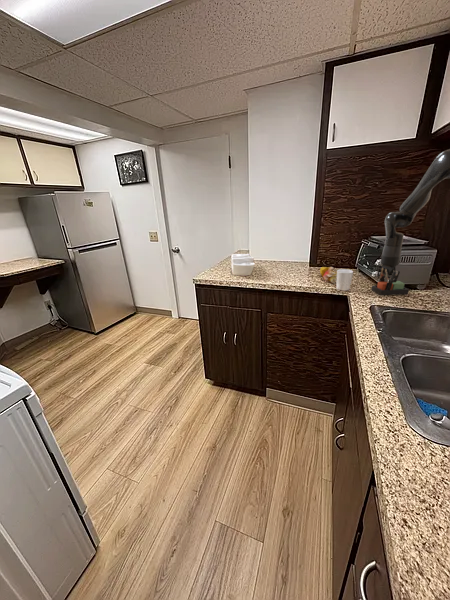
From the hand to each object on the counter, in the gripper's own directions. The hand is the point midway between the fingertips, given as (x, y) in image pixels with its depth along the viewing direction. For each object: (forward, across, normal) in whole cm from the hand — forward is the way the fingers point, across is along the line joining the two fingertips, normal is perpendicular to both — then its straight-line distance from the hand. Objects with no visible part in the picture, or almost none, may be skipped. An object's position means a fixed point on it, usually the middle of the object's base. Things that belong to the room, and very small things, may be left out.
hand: (384, 287), depth 127 cm
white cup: (+3, +8, +17) cm, 19 cm away
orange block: (+2, 0, 0) cm, 2 cm away
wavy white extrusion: (+3, +58, +69) cm, 90 cm away
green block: (+2, 0, -6) cm, 6 cm away
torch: (+3, +27, +18) cm, 33 cm away
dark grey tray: (+3, 0, -3) cm, 4 cm away
